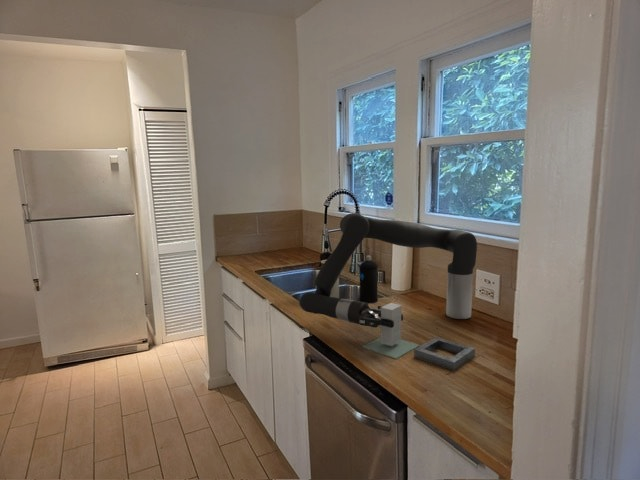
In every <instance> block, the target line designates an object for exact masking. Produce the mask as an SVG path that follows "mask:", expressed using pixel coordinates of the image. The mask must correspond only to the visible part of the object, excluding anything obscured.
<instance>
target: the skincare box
mask: <svg viewBox="0 0 640 480" xmlns="http://www.w3.org/2000/svg"><path fill="white" fill-rule="evenodd" d="M401 314H402V304H398V303H392V302H390V303H387V304H384V306H382V307H381V318H382V319H383V318H384V319H389V320H393V321H394V327H393V328H390V327H386V326H380V337H381V343H382V344H386V345H389V346H393V345H394V344H396V343H397V342H399V341H400V340H401V339H402V321H401Z"/></svg>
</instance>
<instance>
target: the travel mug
mask: <svg viewBox="0 0 640 480" xmlns="http://www.w3.org/2000/svg"><path fill="white" fill-rule="evenodd" d="M326 260H327V259H323V260H321V261H320V263H321V267H320V269H319V271H320V270H321V268H322V266H323V264H324V263H325V261H326ZM330 297H336V298H340V276H339V277H338V279H337V281H336V282H335V284H334V286H333V288H332V290H331V294H330Z"/></svg>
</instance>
